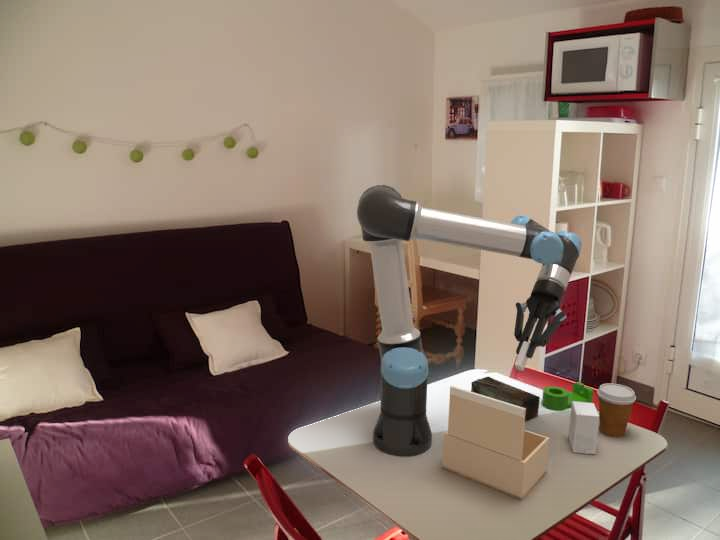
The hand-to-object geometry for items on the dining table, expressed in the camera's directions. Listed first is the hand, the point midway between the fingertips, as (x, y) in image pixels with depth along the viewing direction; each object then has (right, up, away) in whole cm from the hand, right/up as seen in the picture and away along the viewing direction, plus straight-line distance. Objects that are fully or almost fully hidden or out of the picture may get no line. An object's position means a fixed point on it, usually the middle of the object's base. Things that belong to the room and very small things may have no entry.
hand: (518, 367), depth 144 cm
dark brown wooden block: (+4, -17, +32) cm, 36 cm away
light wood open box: (-6, -24, -1) cm, 25 cm away
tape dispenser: (+23, -17, +35) cm, 45 cm away
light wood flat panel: (-10, -17, -8) cm, 21 cm away
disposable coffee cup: (+30, -20, +18) cm, 41 cm away
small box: (+19, -22, +11) cm, 31 cm away
